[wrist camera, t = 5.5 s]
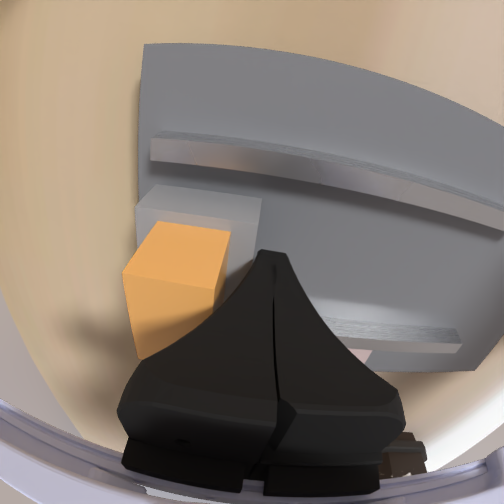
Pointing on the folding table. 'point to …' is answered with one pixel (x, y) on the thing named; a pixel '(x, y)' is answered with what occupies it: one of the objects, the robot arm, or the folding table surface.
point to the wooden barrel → (403, 458)
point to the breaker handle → (185, 260)
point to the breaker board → (344, 191)
